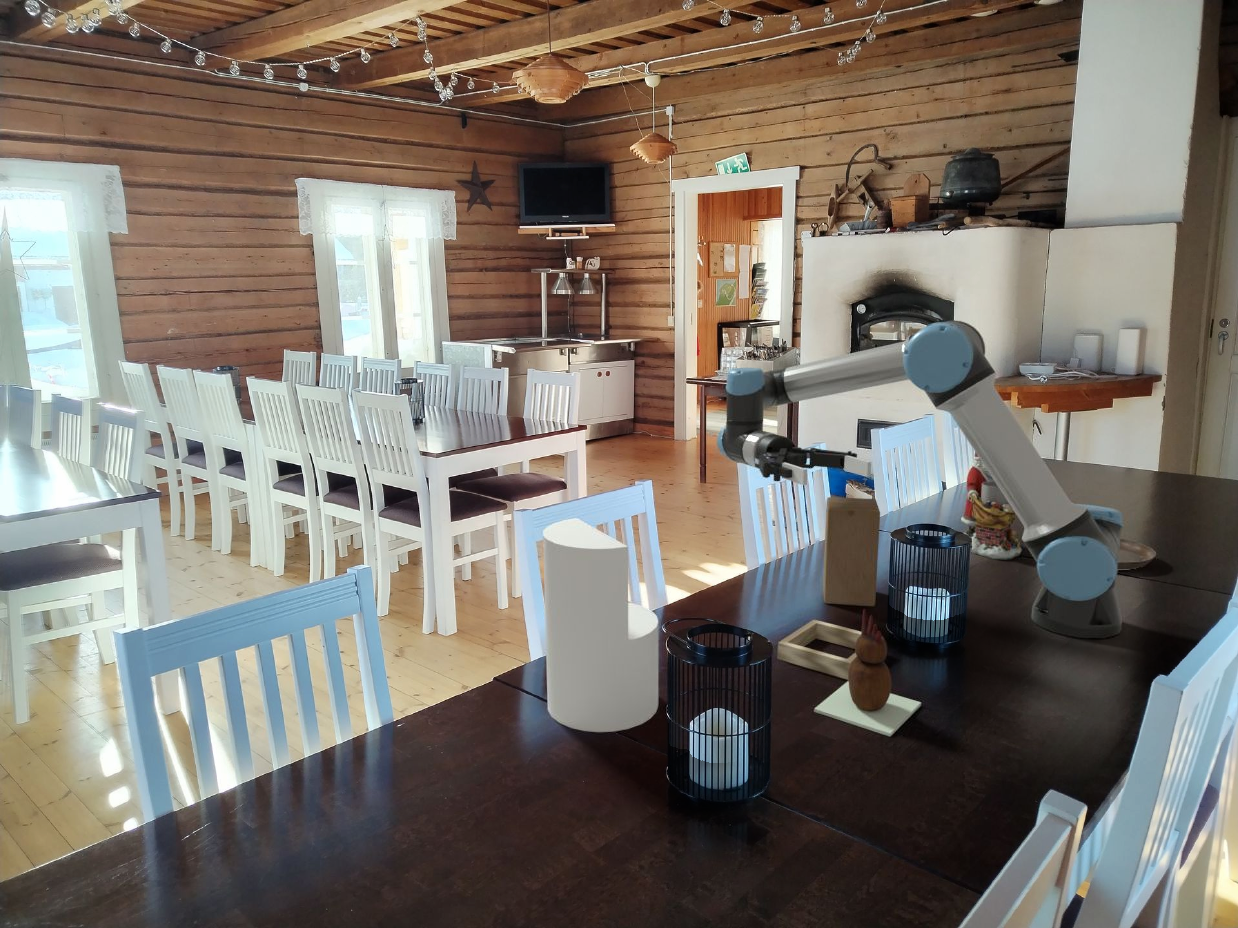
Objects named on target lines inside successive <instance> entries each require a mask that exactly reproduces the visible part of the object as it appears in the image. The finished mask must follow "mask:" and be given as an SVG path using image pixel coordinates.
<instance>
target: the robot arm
mask: <svg viewBox="0 0 1238 928" xmlns="http://www.w3.org/2000/svg"><path fill="white" fill-rule="evenodd" d="M985 343H986V342H985V340H984V338H983V336H982V334H981V333H980V332H979V331H978V330H977V328H976V327H975V326H973V325H971V324H969V323H967V322H965V321H962V320H946V321H943V322H939V321H938V322H933V323H929V324H928V325H926V326H925V327H924V326H923V327H921V329H920V330H918V331H917V332H915V333H913V334H909V335H908V336H907V337H906V339H905V340H904V341H900V342H895V343H891V344H888V345H882V346H877V347H874V348H869V349H864V350H860V351H855V352H852V353H851V352H850V353H847V354H843V355H837V356H834V357H829V358H825V359H819V360H816V361H812V362H811V361H810V362H806V363H802V364H797V365H794V366H790V367H789V366H788V367H785V368H780V369H775V370H768V371H763V369H761V368H758V367H735V368H732V369H729V370H728V371H727V374H726V375H727V376H726V377H727V378H726V385H725V391H726V422H725V426H723V427H722V428H721V429H720V432H719V433H718V436H717V439H716V445H717V448H718V450H719V452H720V454H721V455H723V456H724V457H726V458H727V459H730V460H731V461H733V462H736V463H740V464H744V465H748V466H750V467H753V468H754V469H755V468H756V469H758V470H759V472H760V473H761V475H762V477H763V478H766V479H768V478H771V475H773V482H780V481H781V479H784V480H786V481H790V482H793V483H796V484H798V485H802V486H806V485H808V469H813V468H814V467H818V468H819V467H820V468H821V467H822V468H831V469H833V468H834V469H835V468H836V469H843V470H844V471H845V472H849V473H852V474H855V475H860V476H861V477H865V478H870V477H871V476H872V474H871V473H872V461H870V460H865V459H863V458H859V457H858V454H857V453H855V452H852V451H851V450H848V451H847V452H845V451H837V450H828V449H821V448H816V447H810V448H809V449H808V448H802V447H797V446H796V445H795V443H794V442H793V440H792V439H791V438H789V437H787V436H783V435H779V434H777V433H773V432H769V431H766V430H764V410H767V409H769V408H772V407H778V406H782V405H788V404H791V403H797V402H800V401H806V400H811V399H817V398H822V397H827V396H832V395H836V394H837V395H839V394H842V393H847V392H852V391H857V390H862V389H863V390H864V389H868V388H872V387H878V386H883V385H888V384H889V385H890V384H893V383H894V384H895V383H900V382H904V381H909V380H910V382H911V383H912V384H913V385H915V386H916V387H917V388H918V389H920V390H922V391H923V392H925V394H926V396H927V397H928V398H929V400H930V401H931V403H932V404H933V406H934V407H935V409H936V410H939V411H944V412H947V413H949V414H950V415H951V417H952V418H953V420H954V422H955V423H956V425H957V427H958V428H959V429H960V431H961V432H962V434H963V435H964V437H965V439H966V440H967V442H968V443H969V444H970V446H971V448H972V449H973V450H974V453H975V452H976V454H977V455H978V457H979V458H980V460H981V461H982V463H983V464H984V466H985V467H986V469H987V470H988V472H989V473H990V475H991V476H992V478H993V480H994V481H995V483H996V484H997V486H998V487H999V489H1000V490H1001V492H1002V493H1003V495H1004V496H1005V498H1006V499H1007V501H1008V502H1009V504H1010V505H1011V507H1012V508H1013V510H1014V512H1015V516H1017V517H1018V519H1019V521H1020V523H1022V525H1023V528H1024V530H1023V533H1022V536H1021V540H1022V542H1023V543H1024V544H1025V547H1026V548H1027V549H1028V551H1029V552H1030V554H1031V556H1032V558H1033V559H1034V560H1035V562H1036V569H1037V574H1038V576H1039V579H1040V581H1041V583H1042V585H1041V587H1040V590H1039V591H1038V594H1037V596H1036V598H1035V600H1034V602H1033V604H1032V607H1031V620H1032V621H1033V622H1034V623H1035V624H1036V625H1038V626H1039V627H1041V628H1043V629H1045V630H1048V631H1049V632H1053V633H1056V634H1059V635H1062V636H1067V637H1072V636H1073V637H1072V638H1079V639H1080V638H1081V639H1089V638H1102V639H1106V638H1105V637H1110V636H1114V635H1116V634H1118V633H1119V632H1120V630H1121V631H1122V625H1123V624H1122V622H1123V620H1122V619H1123V618H1122V615H1121V610H1120V606H1119V602H1118V599H1117V594H1116V580H1117V575H1118V571H1117V570H1118V569H1117V567H1118V565H1117V564H1118V555H1119V547H1120V538H1121V537H1122V529H1123V528H1124V524H1123V515H1122V512H1121V511H1120V510H1117V509H1115V508H1111V507H1105V506H1099V505H1091V504H1084V503H1083V504H1081V503H1073V502H1072V501H1071V500H1070V498H1069V497H1068V496H1067V494H1066V492H1065V491H1064V489H1063V487H1061V485H1060V483H1059V482H1058V480H1057V479H1056V477H1055V476H1054V474H1053V473H1052V472H1051V470H1050V468H1049V467H1048V465H1047V464H1046V462H1045V461H1044V459H1043V458H1042V456H1041V455H1040V454H1039V452H1038V451H1037V449H1036V448H1035V446H1034V445H1033V443H1032V441H1031V440H1030V439H1029V437H1028V436H1027V434H1026V432H1025V431H1024V430H1023V428H1022V427H1021V425H1020V423H1019V422H1018V420H1017V419H1016V418H1015V416H1014V415H1013V413H1012V412H1011V410H1010V409H1009V407H1008V406H1007V404H1006V403H1005V401H1004V400H1003V398H1002V397H1001V395H1000V394H999V392H998V391H997V389H996V388H995V380H996V377H997V373H996V371H995V369H994V368H993V366H992V365H991V363H990V362H989V360H988V359H987V357H986V344H985ZM808 459H809V463H807V462H808ZM1121 539H1122V538H1121ZM1120 633H1121V632H1120ZM1120 633H1119V634H1120ZM1119 634H1118V635H1119ZM1116 636H1117V635H1116ZM1114 637H1115V636H1114ZM1110 638H1111V637H1110Z"/></svg>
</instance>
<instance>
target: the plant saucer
mask: <svg viewBox="0 0 1238 928" xmlns="http://www.w3.org/2000/svg"><path fill="white" fill-rule="evenodd" d="M1119 551H1125V552H1131V554H1137V556H1140V557H1141V558H1144V559H1143V560H1142V561H1130V562H1121V561H1118V564H1117V565H1118V567H1117V569H1135V568H1139V567H1141V568H1143V567H1146V565H1148V564H1149V563H1150V562H1152V560H1154V558H1155V557H1156V556H1157V553H1156V551H1155V550H1154V549H1153V548H1152V547H1150V546H1148V545H1145V544H1143V543H1141V542H1137V541H1134V540H1131V539H1124V538H1120V547H1119ZM1139 569H1140V568H1139ZM1135 570H1136V569H1135Z"/></svg>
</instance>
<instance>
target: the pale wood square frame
mask: <svg viewBox="0 0 1238 928" xmlns="http://www.w3.org/2000/svg"><path fill="white" fill-rule="evenodd" d="M859 636H861V631H859V630H856V629H854V628H853V629H851V628H848V627H845V626H841V625H837V624H833V623H829V622H826V621H821V620H817V619H812V620H810V621H809V622H808V623H806V624H805V625H803V626H801V627H800V628H799V629H797V630H795V631H794V632H792V633H791V634H789V635H788V636H785V637H784V638H783V639H781V640H780V641H778V642H777V657H776V659H777V660H779V661H783V662H786V663H789V664H793V665H796V666H800V667H803V668H806V669H809V670H813V671H817V672H821V673H824V674H827V675H830V676H834V677H837V678H839V679H843V680H847V681H848V672H849V666H850V664H851V662H852V661H853V659H854V658H856V657H857V655H856V653H855V652H854V653H852V654H851V655H850V656H849V657H848V658H845V657H841V656H837V655H835V654H830V653H827V652H824V651H823V652H822V651H820V650H817V649H812V648H810V647H805V646H807V645H809V644H810V643H811V642H813V641H814V640H816V639H817V640H821V641H824V642H829V643H831V644H836V645H839V646H844V647H846V648H850V649H854V650H855V645H856V641H857V639H858V637H859ZM881 637H882V638H883V639H884V637H883V636H881Z"/></svg>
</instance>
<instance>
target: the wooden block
mask: <svg viewBox="0 0 1238 928" xmlns="http://www.w3.org/2000/svg"><path fill="white" fill-rule="evenodd" d="M825 506H826V507H825V530H824V531H825V532H824V533H825V534H824V553H823V558H824V559H823V575H822V576H823V578H822V590H823V602H824V603H825V604H826V605H827V604H828V605H829V604H831V605H843V606H844V605H845V606H860V607H875V605H876V595H877V594H876V593H877V577H878V558H879V543H880V542H879V540H880V526H881V525H880V524H881V521H880V520H881V511H880V508H879V505H878V502H877V500H876V499H875V498H862V497H860V498H858V497H857V498H855V497H836V496H835V497H831V496H828V497H827V498H826V505H825Z"/></svg>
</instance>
